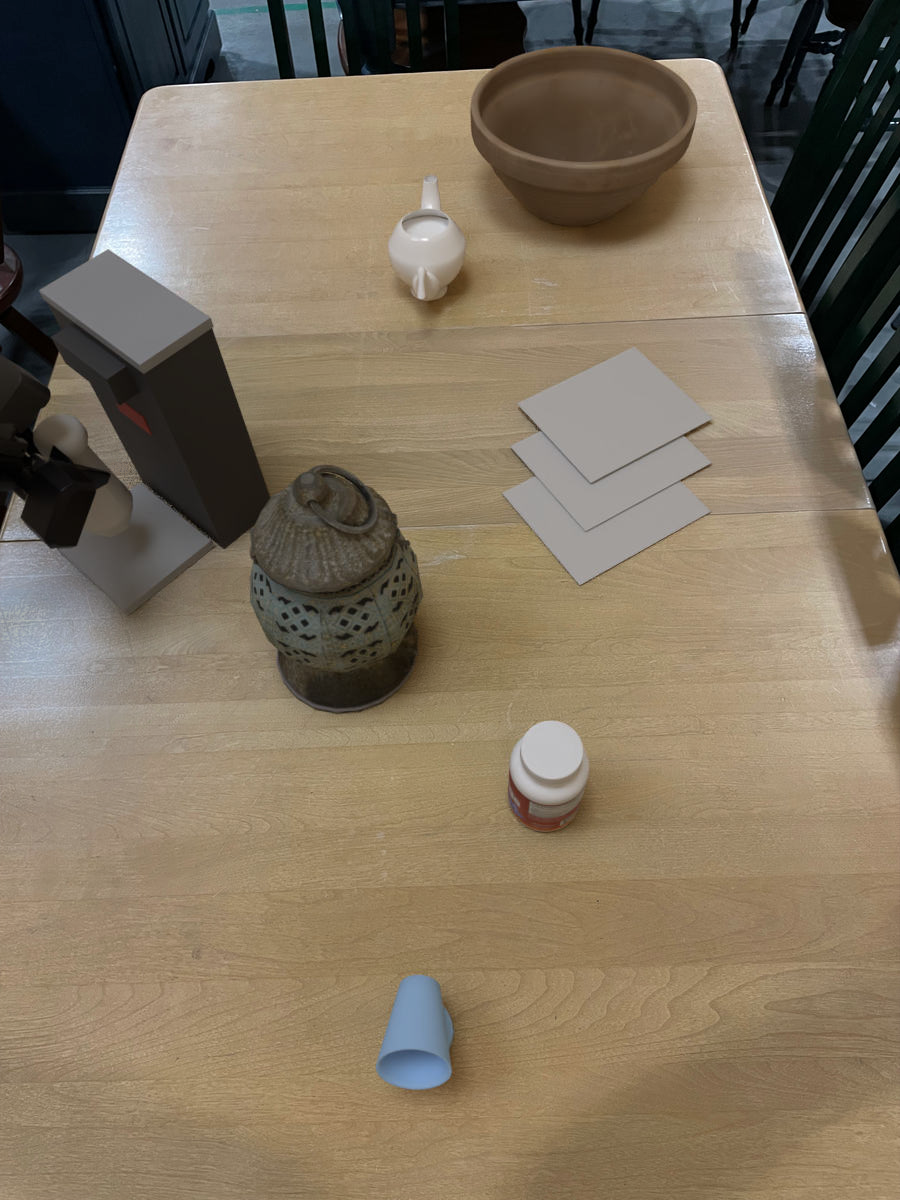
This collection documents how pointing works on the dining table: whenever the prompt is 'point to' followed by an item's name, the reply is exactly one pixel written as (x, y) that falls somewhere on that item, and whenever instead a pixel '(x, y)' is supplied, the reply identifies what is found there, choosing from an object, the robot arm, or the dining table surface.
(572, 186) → the flower pot
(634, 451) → the paper stack
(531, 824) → the pill bottle
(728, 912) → the dining table surface
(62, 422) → the salt shaker
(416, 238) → the teapot
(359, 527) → the lantern
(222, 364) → the coffee maker
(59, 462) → the robot arm
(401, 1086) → the blue mug
